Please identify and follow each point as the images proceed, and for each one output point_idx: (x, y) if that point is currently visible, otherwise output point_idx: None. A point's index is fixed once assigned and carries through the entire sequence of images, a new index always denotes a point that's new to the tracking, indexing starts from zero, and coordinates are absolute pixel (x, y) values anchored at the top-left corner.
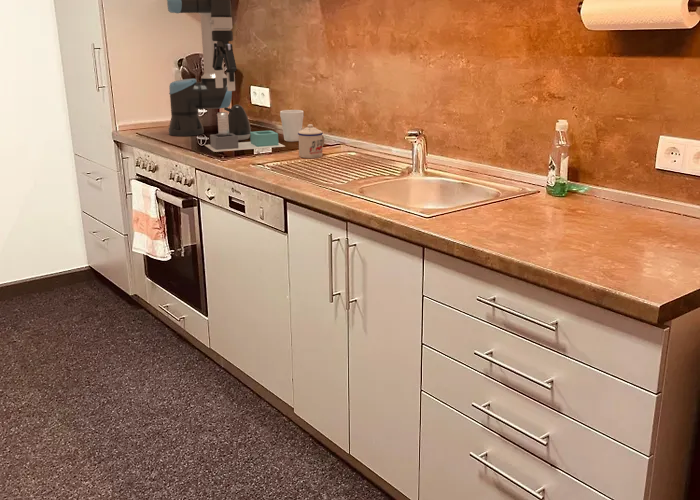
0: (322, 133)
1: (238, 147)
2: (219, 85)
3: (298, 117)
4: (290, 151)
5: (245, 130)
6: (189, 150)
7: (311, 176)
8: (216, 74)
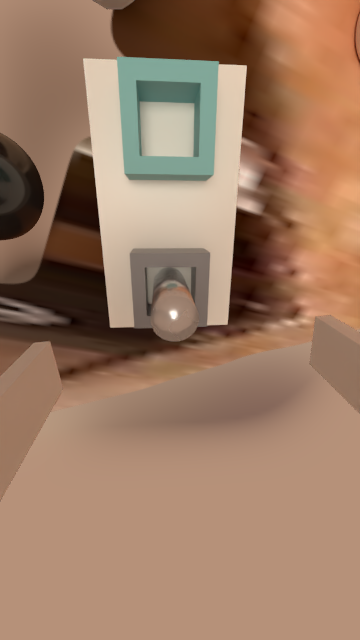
0: None
1: (203, 248)
2: (49, 378)
3: None
4: (272, 65)
5: (28, 165)
6: (121, 360)
7: None
8: (7, 473)
